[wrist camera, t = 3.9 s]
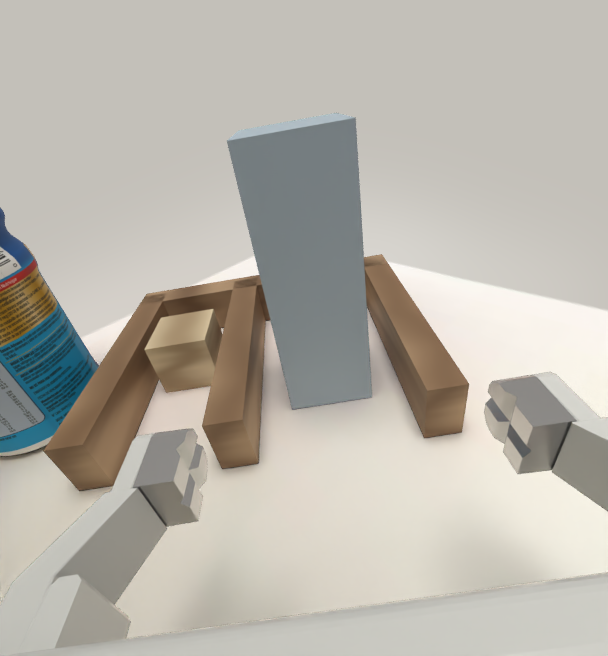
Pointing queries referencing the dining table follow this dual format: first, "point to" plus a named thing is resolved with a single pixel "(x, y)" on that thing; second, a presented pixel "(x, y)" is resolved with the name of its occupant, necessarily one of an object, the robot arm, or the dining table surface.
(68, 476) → the brown flat e-shaped piece
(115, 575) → the robot arm
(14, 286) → the beverage bottle
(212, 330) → the oak block
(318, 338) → the slate block
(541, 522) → the dining table surface
